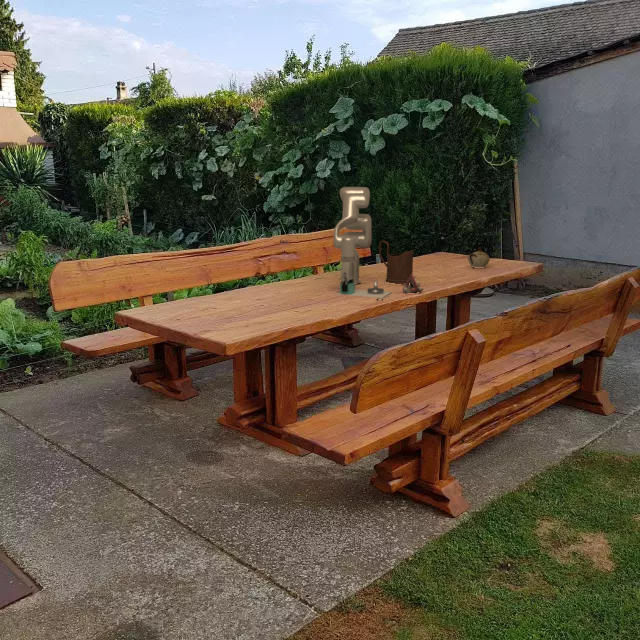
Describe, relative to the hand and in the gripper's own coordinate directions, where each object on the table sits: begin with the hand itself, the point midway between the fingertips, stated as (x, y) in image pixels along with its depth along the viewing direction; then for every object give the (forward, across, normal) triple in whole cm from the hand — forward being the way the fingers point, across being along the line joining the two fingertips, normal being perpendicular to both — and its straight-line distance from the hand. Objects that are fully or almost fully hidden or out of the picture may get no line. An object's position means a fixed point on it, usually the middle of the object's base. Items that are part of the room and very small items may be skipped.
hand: (347, 290), depth 374 cm
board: (+3, -4, +8) cm, 10 cm away
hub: (+2, -7, +14) cm, 16 cm away
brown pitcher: (+3, -55, +12) cm, 56 cm away
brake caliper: (+3, -22, +31) cm, 38 cm away
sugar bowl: (+3, -136, +50) cm, 145 cm away
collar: (+2, 0, 0) cm, 2 cm away
